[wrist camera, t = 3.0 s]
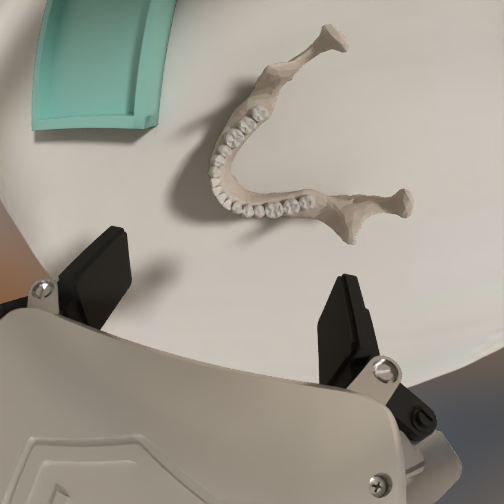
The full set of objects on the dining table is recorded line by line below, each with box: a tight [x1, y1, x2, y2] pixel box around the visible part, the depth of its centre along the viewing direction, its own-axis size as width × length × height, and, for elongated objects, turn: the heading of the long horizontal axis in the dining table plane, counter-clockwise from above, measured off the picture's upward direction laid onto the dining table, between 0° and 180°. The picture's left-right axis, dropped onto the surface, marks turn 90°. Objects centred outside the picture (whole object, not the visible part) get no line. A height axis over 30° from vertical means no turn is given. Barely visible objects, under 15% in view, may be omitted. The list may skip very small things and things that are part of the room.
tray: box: [32, 0, 177, 131], centre depth 15 cm, size 16×14×2 cm
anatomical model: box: [208, 24, 414, 245], centre depth 17 cm, size 13×11×10 cm
